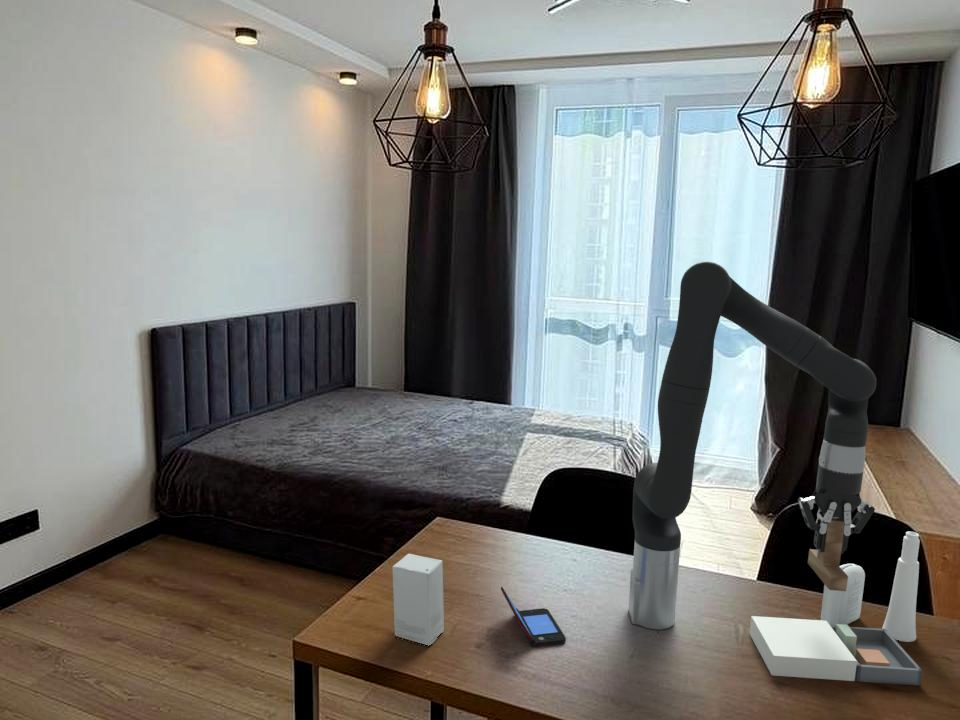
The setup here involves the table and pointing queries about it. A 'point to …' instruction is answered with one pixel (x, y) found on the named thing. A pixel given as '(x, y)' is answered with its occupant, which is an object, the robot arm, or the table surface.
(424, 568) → the skincare box
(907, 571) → the cosmetic bottle
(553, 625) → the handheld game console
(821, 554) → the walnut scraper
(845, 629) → the sage-green tile
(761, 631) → the off-white plate
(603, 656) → the table surface
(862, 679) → the box
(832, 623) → the photo printer
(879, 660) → the terracotta tile
